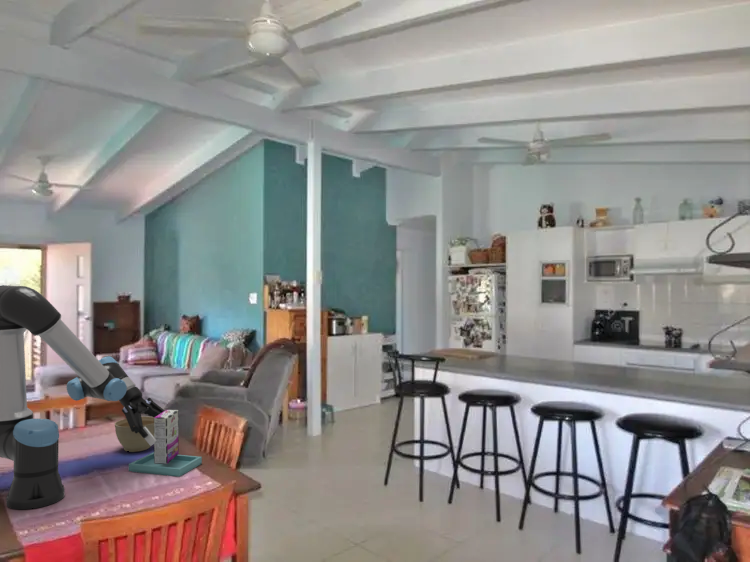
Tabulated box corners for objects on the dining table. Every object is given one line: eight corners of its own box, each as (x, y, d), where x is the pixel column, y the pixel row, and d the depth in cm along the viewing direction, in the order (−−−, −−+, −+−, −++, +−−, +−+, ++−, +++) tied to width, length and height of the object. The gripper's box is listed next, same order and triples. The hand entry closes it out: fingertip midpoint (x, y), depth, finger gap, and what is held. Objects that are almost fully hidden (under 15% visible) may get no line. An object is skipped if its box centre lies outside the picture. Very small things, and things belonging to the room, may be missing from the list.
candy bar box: (165, 454, 207) (165, 409, 207) (179, 454, 207) (179, 409, 207) (152, 464, 196) (153, 417, 196) (167, 464, 196) (167, 417, 196)
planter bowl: (145, 440, 234) (145, 414, 234) (166, 448, 224) (166, 420, 224) (106, 449, 221) (106, 421, 221) (127, 458, 211) (127, 429, 211)
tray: (179, 476, 192) (179, 469, 192) (128, 471, 197) (128, 464, 197) (201, 463, 205) (201, 456, 205) (153, 458, 210) (153, 452, 210)
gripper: (142, 393, 217) (177, 436, 214) (97, 407, 194) (136, 455, 191) (154, 380, 216) (189, 423, 212) (110, 392, 193) (149, 441, 189)
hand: (164, 438), depth 201 cm, fingers closed on candy bar box, 11 cm apart
